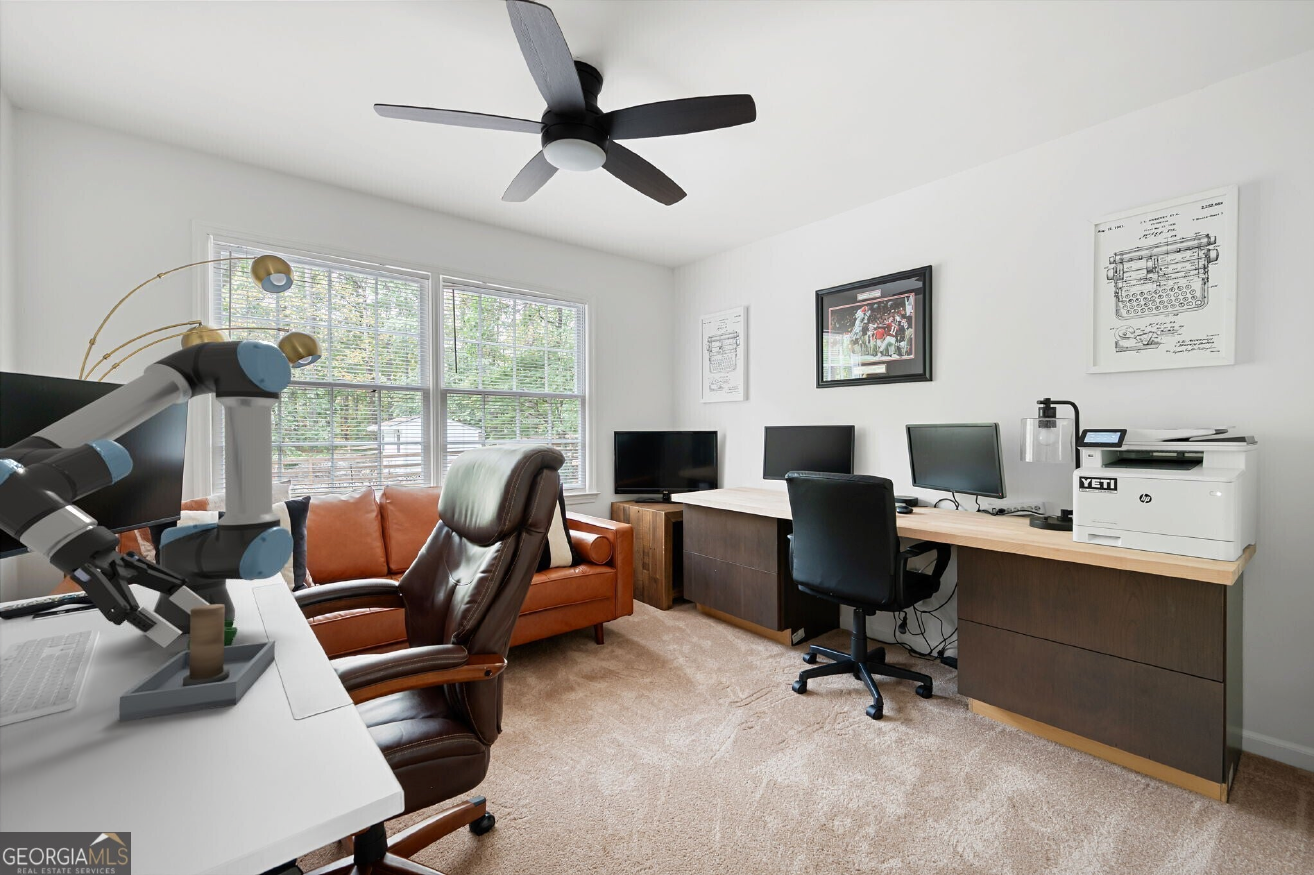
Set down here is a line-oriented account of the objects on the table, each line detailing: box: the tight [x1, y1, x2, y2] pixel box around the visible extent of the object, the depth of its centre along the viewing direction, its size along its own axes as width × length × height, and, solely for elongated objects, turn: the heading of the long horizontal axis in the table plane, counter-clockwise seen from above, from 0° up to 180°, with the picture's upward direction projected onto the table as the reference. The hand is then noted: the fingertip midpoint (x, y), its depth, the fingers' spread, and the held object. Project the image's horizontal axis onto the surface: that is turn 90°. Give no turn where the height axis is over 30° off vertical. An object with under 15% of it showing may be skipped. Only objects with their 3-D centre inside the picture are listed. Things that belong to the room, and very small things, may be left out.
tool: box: [183, 604, 230, 687], centre depth 91 cm, size 6×6×12 cm
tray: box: [118, 640, 276, 722], centre depth 91 cm, size 20×14×4 cm
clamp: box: [186, 619, 238, 651], centre depth 108 cm, size 12×6×9 cm, turn 37°
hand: (192, 627), depth 90 cm, fingers open, 13 cm apart
